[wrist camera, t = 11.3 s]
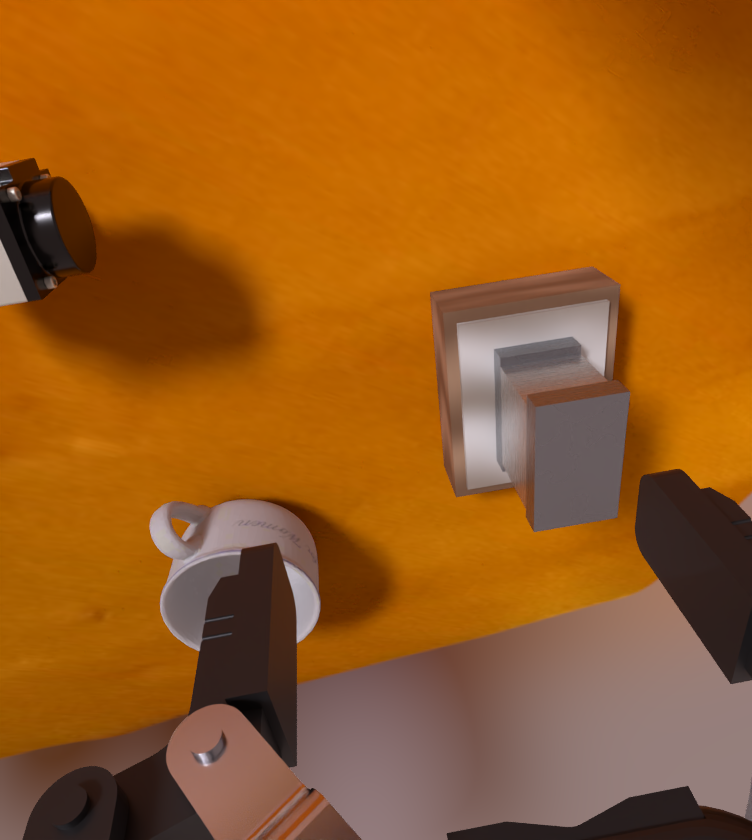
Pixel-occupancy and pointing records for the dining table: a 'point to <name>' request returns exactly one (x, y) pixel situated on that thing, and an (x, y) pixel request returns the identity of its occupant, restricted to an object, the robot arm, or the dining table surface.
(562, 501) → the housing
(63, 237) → the pneumatic valve
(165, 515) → the teacup
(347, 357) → the dining table surface
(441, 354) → the stand
